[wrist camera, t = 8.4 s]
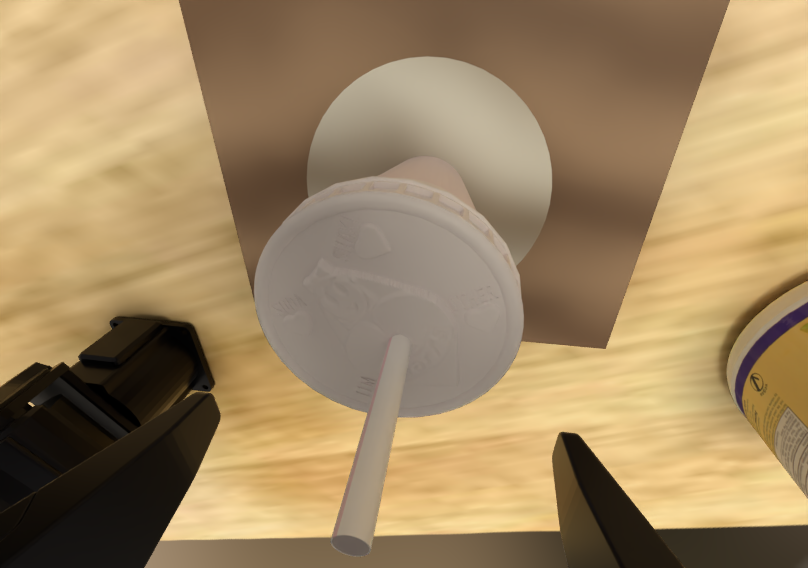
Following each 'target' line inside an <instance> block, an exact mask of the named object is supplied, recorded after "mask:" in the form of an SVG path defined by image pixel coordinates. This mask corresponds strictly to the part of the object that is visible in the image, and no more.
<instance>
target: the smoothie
mask: <svg viewBox="0 0 808 568" xmlns="http://www.w3.org/2000/svg"><path fill="white" fill-rule="evenodd" d="M254 300H255V306H256V312H257V315H258V319H259V322H260V325H261V327H262V330H263V332H264V334H265V336H266V338H267V340H268V342H269V344H270V345H271V347H272V348H273V350H274V351H275V353H276V354H277V355H278V357H279V358H280V360H281V361H282V362H283V363H284V364H285V365H286V366H287V367H288V368H289V369H290V370H291V371H292V372H293V373H294V374H295V375H296V376H297V377H298V378H299V379H300V380H302V381H303V382H304V383H306V384H307V385H308V386H310V387H311V388H312V389H313V390H315V391H317V392H319V393H320V394H322V395H324V396H326V397H327V398H329V399H331V400H332V401H335V402H337V403H340V404H342V405H345V406H347V407H349V408H352V409H355V410H359V411H363V412H366V413H367V417H366V420H365V424H364V427H363V431H362V434H361V437H360V441H359V444H358V448H357V451H356V455H355V458H354V462H353V465H352V469H351V472H350V475H349V479H348V482H347V486H346V489H345V493H344V496H343V500H342V503H341V507H340V510H339V513H338V517H337V520H336V524H335V527H334V531H333V534H332V538H331V544H332V546H333V547H334V548H335V549H336V550H338V551H339V552H342V553H344V554H347V555H351V556H365V555H367V554H369V553H370V551H371V546H372V541H373V536H374V531H375V526H376V521H377V516H378V511H379V506H380V501H381V496H382V491H383V486H384V482H385V477H386V472H387V467H388V462H389V457H390V452H391V447H392V442H393V437H394V432H395V427H396V422H397V417H423V416H430V415H436V414H441V413H444V412H448V411H451V410H454V409H457V408H460V407H462V406H464V405H466V404H468V403H470V402H472V401H474V400H476V399H477V398H479V397H480V396H482V395H483V394H485V393H486V392H488V391H489V390H490V389H491V388H492V387H493V386H494V385H496V384H497V383H498V381H499V380H500V379H501V378H502V377H503V376H504V375H505V373H506V372H507V371H508V369H509V368H510V366H511V364H512V363H513V361H514V359H515V357H516V354H517V352H518V350H519V347H520V343H521V340H522V334H523V328H524V312H523V303H522V298H521V285H520V275H519V272H518V270H517V268H516V265H515V263H514V260H513V258H512V256H511V253H510V251H509V248H508V246H507V244H506V243H505V241H504V240H503V239H502V238H501V237H500V235H499V234H498V233H497V232H496V231H495V229H494V228H493V227H492V226H491V224H490V223H489V222H488V221H487V220H486V218H485V217H484V216H483V215H482V214H480V213H479V212H477V211H476V209H475V207H474V204H473V202H472V200H471V198H470V196H469V194H468V191H467V189H466V187H465V185H464V183H463V180H462V178H461V177H460V175H459V173H458V172H457V171H456V170H455V169H454V168H453V167H452V166H451V165H450V164H448V163H447V162H445V161H443V160H441V159H439V158H436V157H431V156H418V157H413V158H410V159H408V160H406V161H404V162H402V163H400V164H399V165H397V166H395V167H393V168H391V169H389V170H388V171H386V172H384V173H382V174H380V175H378V176H371V177H366V178H361V179H356V180H350V181H345V182H340V183H335V184H334V185H332V186H330V187H328V188H326V189H324V190H322V191H320V192H318V193H316V194H315V195H313V196H311V197H309V198H307V199H305V200H304V201H303V202H302V203H301V204H300V205H299V206H298V207H297V208H296V209H295V210H294V211H293V212H292V213H291V214H290V215H289V216H288V217H287V218H286V219H285V220H284V222H283V223H282V225H281V226H280V227H279V228H278V229H277V230H276V231H275V233H274V234H273V235H272V236H271V238H270V239H269V241H268V242H267V244H266V246H265V247H264V249H263V251H262V254H261V256H260V258H259V261H258V265H257V268H256V273H255V279H254Z"/></svg>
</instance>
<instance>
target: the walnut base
mask: <svg viewBox="0 0 808 568" xmlns="http://www.w3.org/2000/svg"><path fill="white" fill-rule="evenodd" d="M729 1H730V0H179V3H180V7H181V11H182V15H183V19H184V23H185V27H186V31H187V35H188V39H189V43H190V47H191V50H192V54H193V58H194V62H195V66H196V70H197V74H198V78H199V82H200V86H201V90H202V94H203V98H204V102H205V106H206V110H207V114H208V118H209V122H210V126H211V130H212V134H213V138H214V142H215V146H216V150H217V154H218V158H219V162H220V166H221V170H222V174H223V178H224V182H225V186H226V190H227V194H228V198H229V202H230V206H231V210H232V214H233V218H234V222H235V226H236V230H237V234H238V238H239V242H240V246H241V250H242V254H243V257H244V261H245V265H246V269H247V273H248V277H249V281H250V285H251V289H252V293H253V297H254V279H255V273H256V268H257V265H258V261H259V258H260V256H261V254H262V251H263V249H264V247H265V246H266V244H267V242H268V241H269V239H270V238H271V236H272V235H273V234H274V233H275V231H276V230H277V229H278V228H279V227H280V226H281V225H282V223H283V222H284V220H285V219H286V218H287V217H288V216H289V215H290V214H291V213H292V212H293V211H294V210H295V209H296V208H297V207H298V206H299V205H300V204H301V203H302V202H303V201H304V200H305V199H307V198H309V197H311V196H313V195H315V194H316V193H318V192H320V191H322V190H324V189H326V188H328V187H330V186H332V185H334V184H335V183H340V182H345V181H350V180H356V179H361V178H366V177H371V176H378V175H380V174H382V173H384V172H386V171H388V170H389V169H391V168H393V167H395V166H397V165H399V164H400V163H402V162H404V161H406V160H408V159H410V158H413V157H418V156H431V157H436V158H439V159H441V160H443V161H445V162H447V163H448V164H450V165H451V166H452V167H453V168H454V169H455V170H456V171H457V172H458V173H459V175H460V177H461V178H462V180H463V183H464V185H465V187H466V189H467V191H468V194H469V196H470V198H471V200H472V202H473V204H474V207H475V209H476V211H477V212H479V213H480V214H482V215H483V216H484V217H485V218H486V220H487V221H488V222H489V223H490V224H491V226H492V227H493V228H494V229H495V231H496V232H497V233H498V234H499V235H500V237H501V238H502V239H503V240H504V241H505V243H506V244H507V246H508V248H509V251H510V253H511V256H512V258H513V260H514V263H515V265H516V268H517V270H518V272H519V275H520V285H521V298H522V303H523V312H524V328H523V334H522V340H521V341H525V342H536V343H547V344H558V345H569V346H580V347H591V348H602V349H606V346H607V343H608V341H609V338H610V335H611V332H612V329H613V327H614V324H615V321H616V318H617V315H618V313H619V310H620V307H621V304H622V301H623V299H624V296H625V293H626V290H627V287H628V285H629V282H630V279H631V276H632V273H633V271H634V268H635V265H636V262H637V259H638V256H639V254H640V251H641V248H642V245H643V242H644V240H645V237H646V234H647V231H648V228H649V226H650V223H651V220H652V217H653V214H654V212H655V209H656V206H657V203H658V200H659V198H660V195H661V192H662V189H663V186H664V184H665V181H666V178H667V175H668V172H669V170H670V167H671V164H672V161H673V158H674V156H675V153H676V150H677V147H678V144H679V142H680V139H681V136H682V133H683V130H684V128H685V125H686V122H687V119H688V116H689V114H690V111H691V108H692V105H693V102H694V100H695V97H696V94H697V91H698V88H699V86H700V83H701V80H702V77H703V74H704V72H705V69H706V66H707V63H708V60H709V57H710V55H711V52H712V49H713V46H714V43H715V41H716V38H717V35H718V32H719V29H720V27H721V24H722V21H723V18H724V15H725V13H726V10H727V7H728V4H729ZM254 301H255V300H254Z"/></svg>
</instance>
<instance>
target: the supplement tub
mask: <svg viewBox="0 0 808 568" xmlns="http://www.w3.org/2000/svg"><path fill="white" fill-rule="evenodd" d="M727 382H728V386H729V390H730V393H731V395H732V397H733V400H734V402H735V404H736V406H737V408H738V409H739V411H740V412H741V413H742V414H743V415H744V416H745V417H746V418H747V420H748V421H749V422H750V423H751V425H752V426H753V427H754V429H755V430H756V431H757V433H758V434H759V435H760V437H761V438H762V439H763V441H764V442H765V443H766V444H767V446H768V447H769V448H770V450H771V451H772V452H773V454H774V455H775V456H776V458H777V459H778V460H779V462H780V463H781V464H782V466H783V467H784V468H785V469H786V471H787V472H788V473H789V475H790V476H791V477H792V479H793V480H794V481H795V483H796V484H797V485H798V486H799V488H800V489H801V490H802V492H803V493H804V494H805V496H806V497H807V498H808V281H806V282H804V283H802V284H801V285H799V286H797V287H795V288H793V289H791V290H790V291H788V292H786V293H785V294H783V295H782V296H780V297H779V298H778V299H776V300H775V301H773V302H772V303H771V304H769V305H768V306H767V307H766V308H765V309H763V310H762V311H761V312H760V313H759V314H758V315H756V316H755V317H754V318H753V320H752V321H751V322H750V323H749V324H748V325H747V326H746V327H745V328H744V330H743V331H742V332H741V334H740V335H739V337H738V338H737V340H736V342H735V344H734V345H733V348H732V350H731V352H730V355H729V359H728V363H727Z"/></svg>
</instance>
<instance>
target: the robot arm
mask: <svg viewBox="0 0 808 568" xmlns="http://www.w3.org/2000/svg"><path fill="white" fill-rule="evenodd" d="M110 326H111V328H112V330H111V331H110V332H108V333H107V334H106V335H104V336H103V337H102V338H100V339H99V340H98V341H96V342H95V343H94V344H92V345H91V346H89V347H88V348H87V349H85V350H84V351H83V352H81V353H80V355H79V356H78V358H79V360H80V361H79V362H77V363H76V364H75V365H73V366H72V367H71V368H70V367H68V366H67V365H66V364H65V363H64V362H61V363H60V364H58V365H56V366H54V367H51V366H47V365H44V364H40V363H37V362H36V363H34V364H33V365H31V366H29V367H28V368H27V369H25V370H24V371H22V372H21V373H19V374H18V375H16V376H15V377H13V378H12V379H11V380H9V381H8V382H6V383H5V384H3V385H2V386H1V387H0V568H144V567H145V566H146V564H147V562H148V560H149V558H150V557H151V555H152V553H153V551H154V549H155V548H156V546H157V544H158V542H159V541H160V539H161V537H162V535H163V533H164V532H165V530H166V528H167V526H168V525H169V523H170V521H171V519H172V517H173V516H174V514H175V512H176V510H177V508H178V507H179V505H180V503H181V501H182V500H183V498H184V496H185V494H186V492H187V491H188V489H189V487H190V485H191V483H192V481H193V480H194V478H195V476H196V474H197V471H198V469H199V467H200V465H201V463H202V460H203V458H204V456H205V454H206V451H207V449H208V447H209V445H210V442H211V440H212V438H213V436H214V433H215V431H216V429H217V427H218V424H219V422H220V417H221V415H220V411H219V408H218V406H217V403H216V401H215V398H214V396H213V395H212V394H211V393H205V392H196V393H194V394H192V395H190V396H189V397H187V398H186V399H184V398H185V397H186V396H187V395H188V394H189V392H190V391H191V390H197V391H206V392H209V391H211V390H212V388H213V387H214V383H213V380H212V377H211V375H210V372H209V369H208V367H207V364H206V361H205V358H204V356H203V353H202V350H201V348H200V345H199V342H198V339H197V337H196V334H195V331H194V329H193V327H192V326H191V325H189V324H186V323H177V322H166V321H156V320H146V319H135V318H125V317H115V318H114V319H112V320H111V321H110ZM183 399H184V400H183ZM28 402H31V403H33V404H34V405H35V406H33V407H32V406H30V405H29V404H28ZM552 463H553V472H554V481H555V490H556V499H557V508H558V517H559V525H560V532H561V537H562V542H563V546H564V550H565V555H566V560H567V564H568V568H685V567H684V566H683V565H682V563H681V562H680V561H679V560H678V558H677V557H676V556H675V555H674V553H673V552H672V551H671V550H670V548H669V547H668V546H667V545H666V543H665V542H664V541H663V540H662V538H661V537H660V536H659V534H658V533H657V532H656V531H655V529H654V528H653V527H652V526H651V524H650V523H649V522H648V521H647V519H646V518H645V517H644V516H643V514H642V513H641V512H640V511H639V509H638V508H637V507H636V506H635V504H634V503H633V502H632V501H631V499H630V498H629V497H628V496H627V494H626V493H625V492H624V491H623V489H622V488H621V487H620V486H619V484H618V483H617V482H616V481H615V479H614V478H613V477H612V476H611V474H610V473H609V472H608V471H607V469H606V468H605V467H604V466H603V464H602V463H601V462H600V461H599V459H598V458H597V457H596V456H595V454H594V453H593V452H592V451H591V449H590V448H589V447H588V446H587V444H586V443H585V442H584V440H583V439H582V438H581V437H580V436H579V435H578V434H575V433H567V432H560V433H559V435H558V437H557V441H556V444H555V447H554V451H553V455H552Z"/></svg>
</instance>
